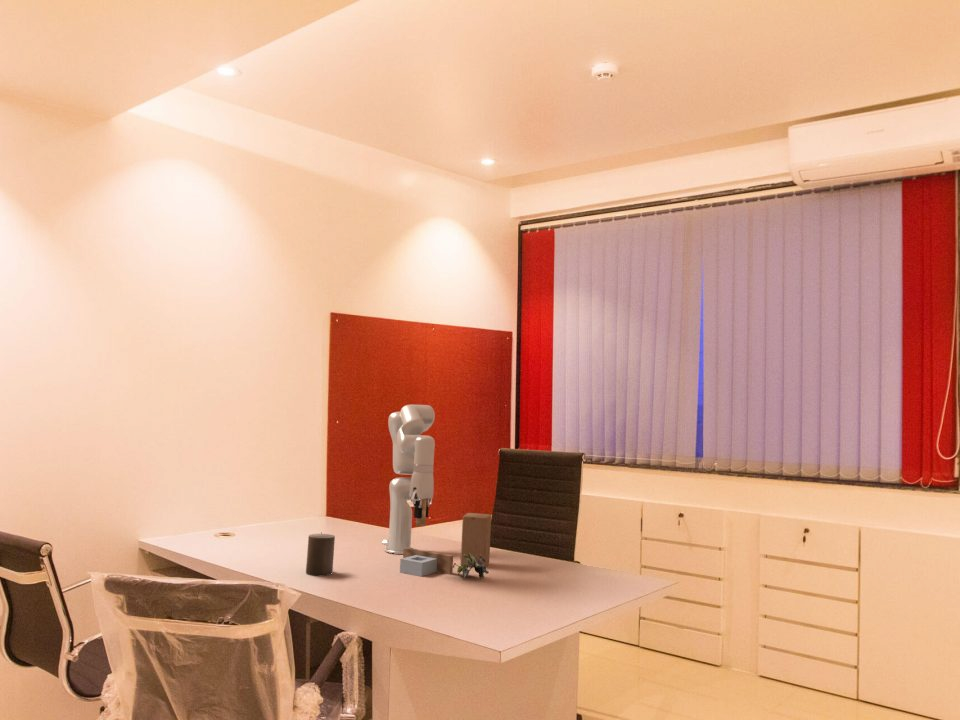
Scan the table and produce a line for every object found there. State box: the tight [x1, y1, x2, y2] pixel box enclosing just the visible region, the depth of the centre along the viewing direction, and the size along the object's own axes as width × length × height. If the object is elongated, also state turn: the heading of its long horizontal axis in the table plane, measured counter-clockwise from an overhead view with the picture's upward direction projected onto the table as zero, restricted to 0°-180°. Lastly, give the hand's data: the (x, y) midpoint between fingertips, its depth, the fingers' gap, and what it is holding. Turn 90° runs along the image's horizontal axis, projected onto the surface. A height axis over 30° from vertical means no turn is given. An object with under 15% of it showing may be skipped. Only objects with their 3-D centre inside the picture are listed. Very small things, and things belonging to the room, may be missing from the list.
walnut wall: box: [402, 547, 454, 575], centre depth 297 cm, size 22×2×7 cm, turn 59°
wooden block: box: [459, 512, 492, 568], centre depth 311 cm, size 10×10×20 cm
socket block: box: [399, 555, 438, 577], centre depth 292 cm, size 10×10×5 cm
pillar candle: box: [305, 532, 336, 576], centre depth 285 cm, size 10×10×15 cm
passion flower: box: [453, 553, 489, 580], centre depth 287 cm, size 11×11×12 cm
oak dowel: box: [415, 499, 427, 527], centre depth 293 cm, size 4×4×12 cm
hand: (421, 517), depth 293 cm, fingers closed on oak dowel, 3 cm apart
